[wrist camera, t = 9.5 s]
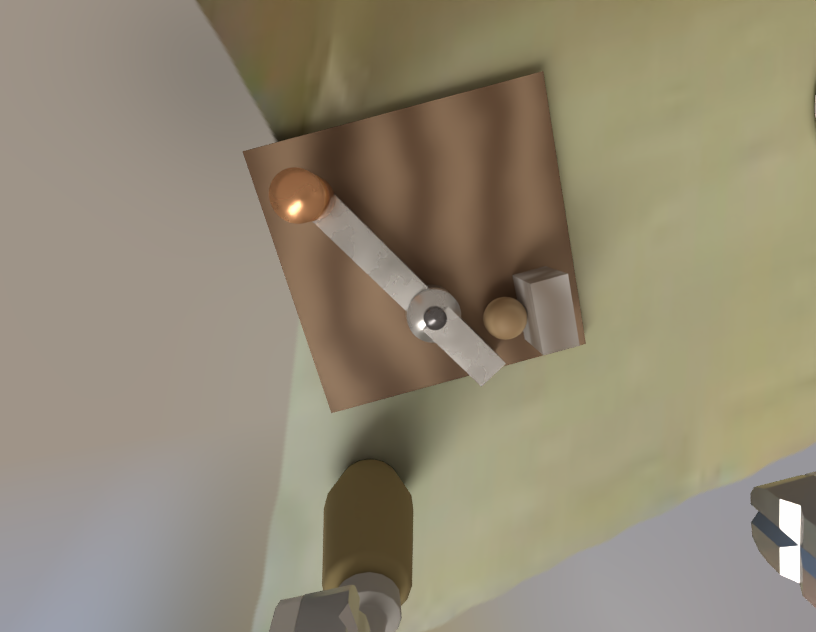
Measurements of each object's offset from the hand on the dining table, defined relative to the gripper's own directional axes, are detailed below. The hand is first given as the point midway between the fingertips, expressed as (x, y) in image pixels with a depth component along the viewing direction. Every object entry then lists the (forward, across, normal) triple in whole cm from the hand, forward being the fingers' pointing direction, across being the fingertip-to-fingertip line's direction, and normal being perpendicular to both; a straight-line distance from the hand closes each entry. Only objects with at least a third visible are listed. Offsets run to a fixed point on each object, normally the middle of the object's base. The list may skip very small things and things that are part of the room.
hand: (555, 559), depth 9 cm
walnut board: (+30, -1, -2) cm, 30 cm away
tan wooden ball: (+29, -6, +4) cm, 30 cm away
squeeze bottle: (+30, +10, +18) cm, 36 cm away
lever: (+28, +2, -1) cm, 29 cm away
